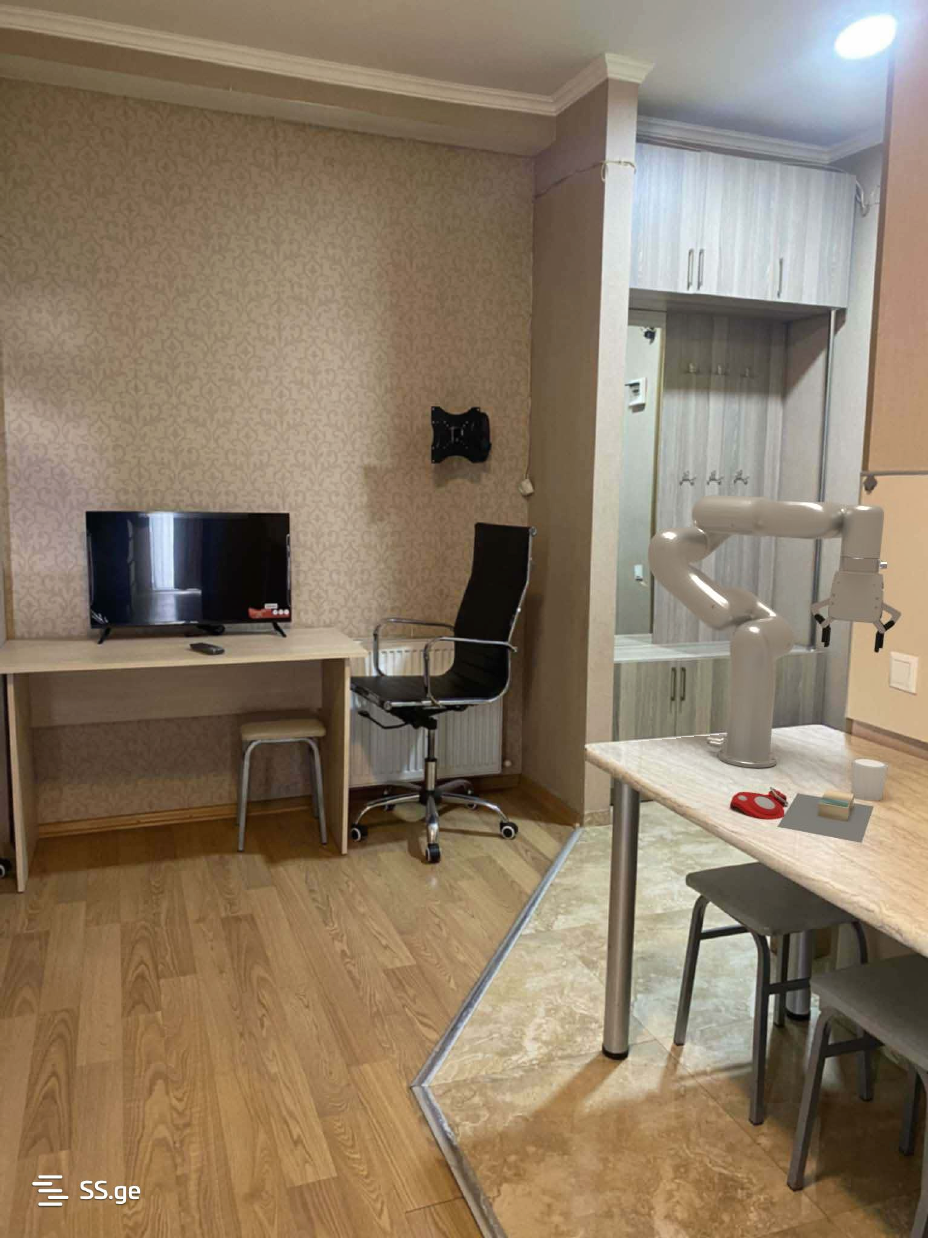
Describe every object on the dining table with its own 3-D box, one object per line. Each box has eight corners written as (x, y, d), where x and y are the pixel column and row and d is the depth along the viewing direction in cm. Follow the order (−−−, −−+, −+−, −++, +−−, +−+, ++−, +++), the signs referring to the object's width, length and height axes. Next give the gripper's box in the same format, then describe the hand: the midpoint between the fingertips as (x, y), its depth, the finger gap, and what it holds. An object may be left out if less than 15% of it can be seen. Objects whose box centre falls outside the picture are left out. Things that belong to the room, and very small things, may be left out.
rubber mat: (777, 829, 171) (777, 826, 171) (797, 796, 190) (797, 793, 190) (861, 845, 165) (861, 842, 165) (873, 809, 184) (873, 806, 184)
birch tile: (825, 801, 186) (826, 787, 186) (853, 806, 184) (854, 792, 183) (817, 816, 177) (819, 802, 177) (846, 821, 175) (847, 807, 175)
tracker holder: (785, 821, 173) (731, 801, 176) (778, 841, 175) (724, 820, 178) (793, 788, 183) (741, 769, 186) (786, 807, 185) (735, 788, 188)
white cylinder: (881, 804, 187) (885, 769, 186) (844, 797, 191) (848, 763, 190) (887, 795, 193) (890, 761, 192) (851, 788, 197) (854, 755, 196)
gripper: (906, 567, 194) (898, 651, 196) (817, 562, 201) (810, 642, 204) (904, 570, 187) (895, 656, 189) (811, 564, 195) (804, 646, 197)
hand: (851, 649), depth 197 cm, fingers open, 9 cm apart
